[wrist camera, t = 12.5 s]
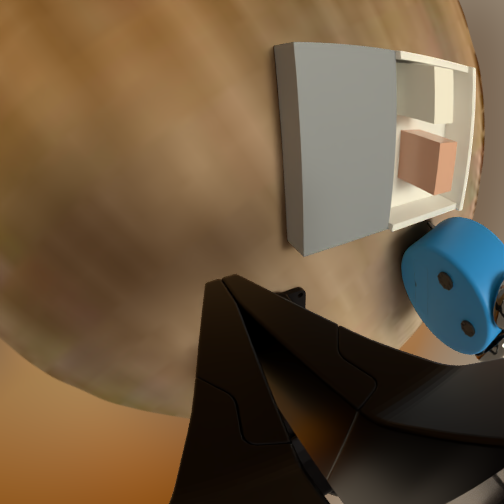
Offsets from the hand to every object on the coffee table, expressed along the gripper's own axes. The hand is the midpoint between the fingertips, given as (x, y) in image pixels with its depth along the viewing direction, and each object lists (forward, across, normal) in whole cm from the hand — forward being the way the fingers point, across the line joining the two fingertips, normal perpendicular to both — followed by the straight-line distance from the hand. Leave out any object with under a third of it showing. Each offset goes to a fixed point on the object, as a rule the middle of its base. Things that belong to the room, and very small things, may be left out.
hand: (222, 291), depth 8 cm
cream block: (+9, -17, -4) cm, 20 cm away
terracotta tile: (+9, -18, +1) cm, 21 cm away
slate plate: (+12, -12, 0) cm, 17 cm away
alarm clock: (+12, -24, +14) cm, 30 cm away
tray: (+12, -21, 0) cm, 24 cm away
